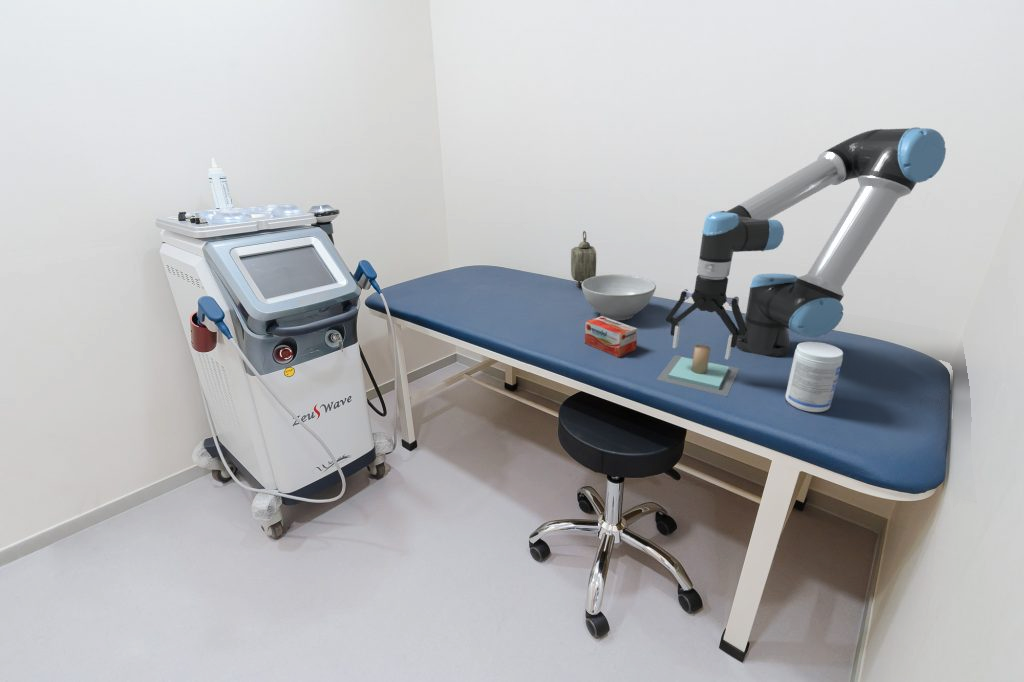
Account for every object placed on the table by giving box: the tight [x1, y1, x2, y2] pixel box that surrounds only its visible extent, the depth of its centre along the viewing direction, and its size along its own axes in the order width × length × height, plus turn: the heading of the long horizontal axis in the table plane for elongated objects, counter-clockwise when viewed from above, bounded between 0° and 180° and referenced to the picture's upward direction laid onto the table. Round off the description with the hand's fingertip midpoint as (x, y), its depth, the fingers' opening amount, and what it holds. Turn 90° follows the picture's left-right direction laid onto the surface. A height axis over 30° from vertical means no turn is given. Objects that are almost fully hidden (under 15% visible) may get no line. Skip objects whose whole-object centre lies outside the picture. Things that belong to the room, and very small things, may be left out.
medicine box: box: [584, 316, 638, 359], centre depth 147 cm, size 15×8×8 cm, turn 37°
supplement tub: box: [785, 341, 844, 413], centre depth 111 cm, size 10×10×15 cm
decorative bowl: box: [581, 274, 657, 321], centre depth 172 cm, size 27×27×12 cm
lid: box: [668, 344, 729, 390], centre depth 127 cm, size 13×13×8 cm
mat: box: [656, 354, 740, 397], centre depth 128 cm, size 18×18×1 cm
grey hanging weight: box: [570, 230, 597, 288], centre depth 204 cm, size 14×9×25 cm, turn 1°
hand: (700, 351), depth 126 cm, fingers open, 13 cm apart
